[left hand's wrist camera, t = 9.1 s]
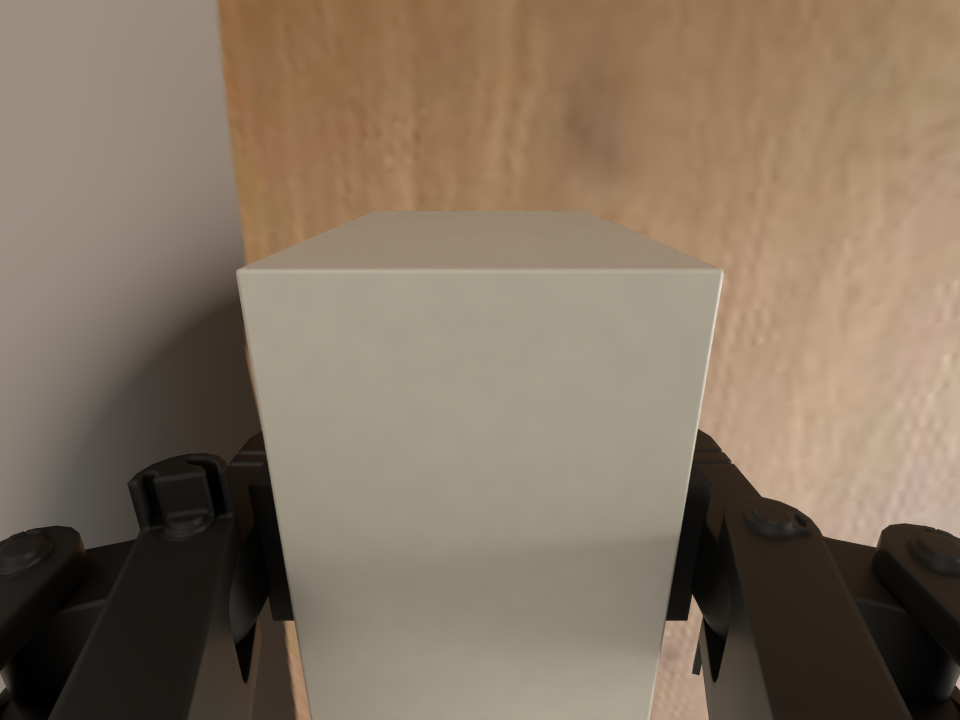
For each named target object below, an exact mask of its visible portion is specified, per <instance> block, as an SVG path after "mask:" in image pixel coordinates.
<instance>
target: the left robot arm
mask: <svg viewBox="0 0 960 720" xmlns="http://www.w3.org/2000/svg"><path fill="white" fill-rule="evenodd" d="M128 488H129V491H130V495H131V498H132V502H133V505H134V509H135V512H136V516H137V519H138V523H139V526H140V530H141V531H140V533H139V535H138V537H137V539H134V540H130V541H126V542H121V543H116V544H112V545H106V546H102V547H96V548H92V549H87V550H85V548H84V545H83V542H82V539H81V536H80V533H78V532H77V531H76V530H74V529H73V528H71V527H63V526H51V527H43V528H35V529H31V530H27V532H21V533H18V534H15V535H12V536H10V537H9V538H7V539H5V540H3V541H1V542H0V674H1V677H2V679H3V681H4V683H5V685H6V688H5V689H4V690H3V691H2V692H1V693H0V720H251V718H252V710H253V702H254V693H255V685H256V677H257V669H258V661H259V653H260V645H261V636H260V629H259V624H258V619H257V618H258V616H259V614H260V612H261V610H262V608H263V606H264V603H265V601H266V599H267V597H268V596H269V601H270V606H271V612H272V617H273V620H274V621H294V616H293V610H292V604H291V598H290V592H289V586H288V580H287V574H286V568H285V562H284V556H283V550H282V544H281V538H280V532H279V526H278V520H277V514H276V508H275V502H274V496H273V490H272V485H271V479H270V473H269V467H268V461H267V455H266V449H265V443H264V437H263V431H261V432H259V433H258V434H256V435H254V436H253V437H251V438H250V439H249V440H248V441H247V443H246V444H245V445H244V446H243V447H242V449H241V450H240V451H239V454H237V455H236V456H235V457H234V458H233V459H232V460H231V462H230V463H229V466H227V464H226V461H225V460H223V459H222V458H221V457H219V456H217V455H212V454H207V453H199V454H186V455H181V456H176V457H172V458H168V459H166V460H163V461H160V462H158V463H155V464H152V465H151V466H149V467H147V468H145V469H144V470H142V471H140V472H139V473H137V474H136V475H135V476H134V477H133V478H132V479H131V480H130V481H129V482H128ZM692 594H693V596H694V598H695V600H696V602H697V604H698V606H699V608H700V610H701V612H702V614H703V619H702V624H701V629H700V634H699V639H698V644H697V649H696V654H695V659H694V664H693V671H692V674H696V675H699V674H700V670H701V665H702V668H703V676H704V684H705V692H706V700H707V708H708V716H709V720H960V690H959V689H958V687H957V686H956V685H955V684H956V682H957V680H958V678H959V676H960V539H959V538H957V537H955V536H953V535H952V534H950V533H948V532H945V531H942V530H939V529H937V530H936V529H935V528H932V527H928V526H920V525H913V524H905V523H904V524H895V525H889V526H888V527H887V528H885V529H884V530H882V532H881V535H880V538H879V541H878V544H877V547H871V546H866V545H861V544H856V543H851V542H846V541H841V540H836V539H831V538H827V537H824V536H822V534H821V532H820V530H819V528H818V527H817V526H816V525H815V523H814V522H813V521H812V520H811V519H810V518H809V517H808V516H806V515H805V514H803V513H802V512H800V511H799V510H798V509H796V508H794V507H791V506H789V505H787V504H784V503H782V502H780V501H776V500H772V499H768V498H764V497H761V495H760V494H759V493H758V492H757V491H756V490H755V488H754V487H753V486H752V485H751V484H750V482H749V481H748V480H747V479H746V478H745V477H744V475H743V474H742V473H741V472H740V471H739V470H738V468H737V467H736V466H735V465H734V464H732V463H731V460H730V459H729V458H728V457H727V455H726V454H725V453H724V452H722V449H721V448H720V447H719V446H718V445H717V444H716V442H715V441H714V440H713V439H712V438H711V436H709V435H707V434H706V433H704V432H702V431H701V430H699V429H698V430H697V436H696V442H695V448H694V454H693V460H692V466H691V472H690V478H689V484H688V490H687V496H686V502H685V508H684V514H683V520H682V526H681V532H680V538H679V544H678V550H677V556H676V562H675V568H674V574H673V580H672V586H671V592H670V598H669V604H668V610H667V616H666V621H687V619H688V614H689V609H690V603H691V598H692Z"/></svg>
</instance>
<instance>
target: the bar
mask: <svg viewBox="0 0 960 720" xmlns="http://www.w3.org/2000/svg"><path fill="white" fill-rule="evenodd" d="M723 275H724V274H723V270H722V269H720V268H718V267H716V266H713V265H711V264H709V263H706V262H704V261H702V260H699V259H697V258H695V257H692V256H690V255H688V254H685V253H683V252H681V251H678V250H676V249H674V248H671V247H669V246H667V245H664V244H662V243H660V242H657V241H655V240H653V239H650V238H648V237H646V236H643V235H641V234H639V233H636V232H634V231H632V230H629V229H627V228H625V227H622V226H620V225H618V224H615V223H613V222H611V221H608V220H606V219H604V218H601V217H599V216H597V215H594V214H592V213H590V212H587V211H373V212H370V213H368V214H366V215H363V216H361V217H359V218H356V219H354V220H352V221H349V222H347V223H345V224H342V225H340V226H338V227H335V228H333V229H331V230H328V231H326V232H324V233H321V234H319V235H317V236H314V237H312V238H310V239H307V240H305V241H303V242H300V243H298V244H296V245H293V246H291V247H289V248H286V249H284V250H282V251H279V252H277V253H275V254H272V255H270V256H268V257H265V258H263V259H261V260H258V261H256V262H254V263H252V264H249V265H247V266H245V267H242V268H240V269H238V270H237V273H236V276H237V282H238V288H239V294H240V300H241V306H242V312H243V318H244V324H245V330H246V336H247V342H248V348H249V354H250V359H251V365H252V371H253V377H254V383H255V389H256V395H257V401H258V407H259V413H260V419H261V425H262V431H263V437H264V443H265V449H266V455H267V461H268V467H269V473H270V479H271V485H272V490H273V496H274V502H275V508H276V514H277V520H278V526H279V532H280V538H281V544H282V550H283V556H284V562H285V568H286V574H287V580H288V586H289V592H290V598H291V604H292V610H293V616H294V621H295V627H296V633H297V639H298V645H299V651H300V657H301V663H302V669H303V675H304V681H305V687H306V693H307V699H308V705H309V711H310V717H311V720H649V718H650V712H651V706H652V700H653V694H654V688H655V682H656V676H657V670H658V664H659V658H660V652H661V646H662V640H663V634H664V628H665V622H666V616H667V610H668V604H669V598H670V592H671V586H672V580H673V574H674V568H675V562H676V556H677V550H678V544H679V538H680V532H681V526H682V520H683V514H684V508H685V502H686V496H687V490H688V484H689V478H690V472H691V466H692V460H693V454H694V448H695V442H696V436H697V430H698V424H699V418H700V412H701V406H702V400H703V394H704V388H705V382H706V376H707V370H708V364H709V358H710V352H711V346H712V340H713V334H714V329H715V323H716V317H717V311H718V305H719V299H720V293H721V287H722V281H723Z"/></svg>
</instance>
